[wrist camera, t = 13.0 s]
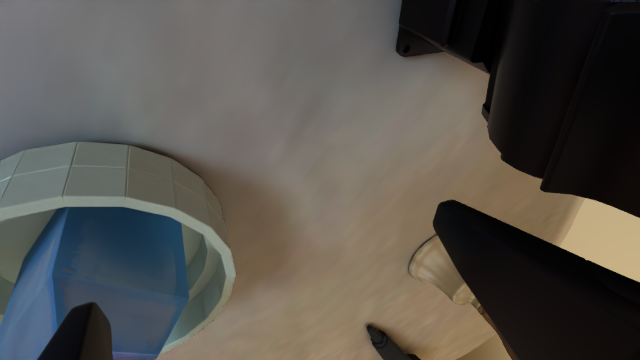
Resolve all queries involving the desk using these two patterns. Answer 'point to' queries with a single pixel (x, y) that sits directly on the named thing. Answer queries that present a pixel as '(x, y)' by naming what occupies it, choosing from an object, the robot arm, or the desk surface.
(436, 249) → the hand bell
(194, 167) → the desk surface
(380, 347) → the microphone
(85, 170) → the bowl
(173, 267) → the perfume bottle
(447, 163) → the desk surface
